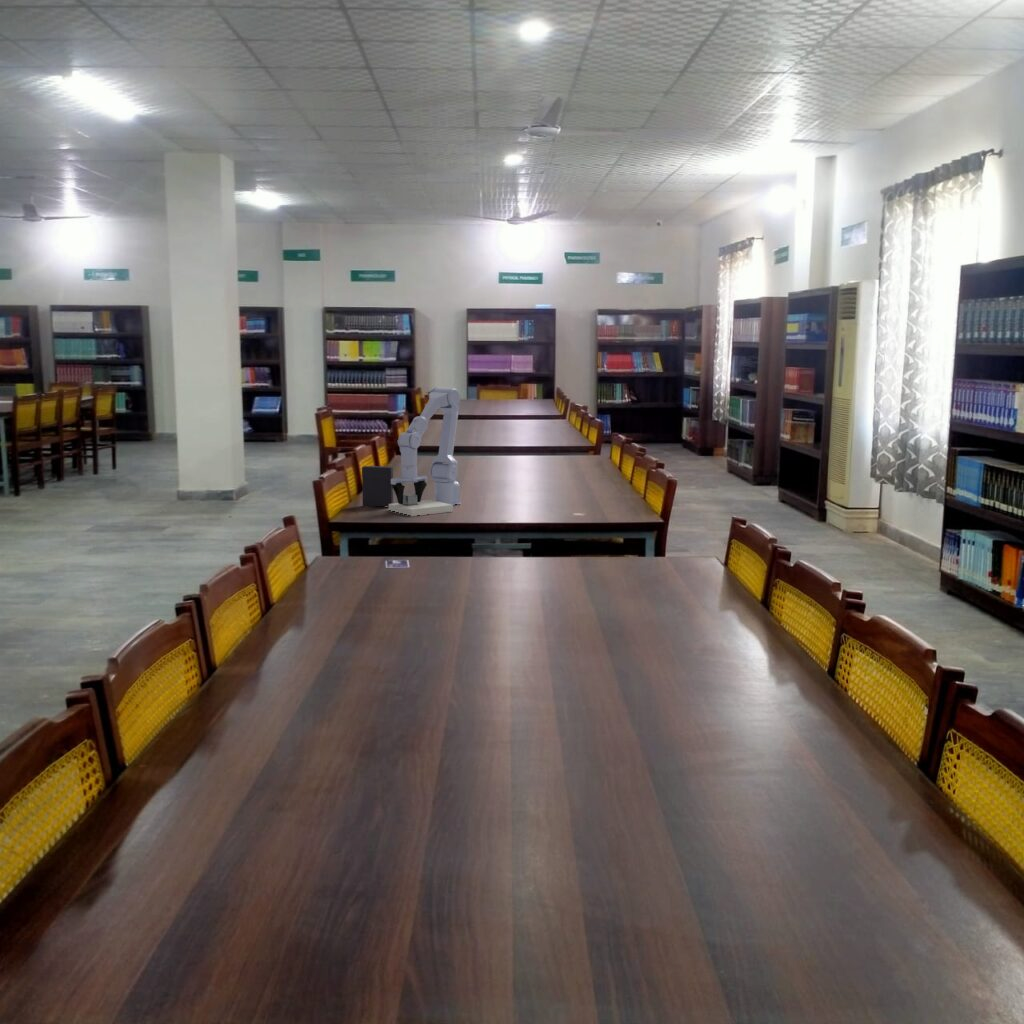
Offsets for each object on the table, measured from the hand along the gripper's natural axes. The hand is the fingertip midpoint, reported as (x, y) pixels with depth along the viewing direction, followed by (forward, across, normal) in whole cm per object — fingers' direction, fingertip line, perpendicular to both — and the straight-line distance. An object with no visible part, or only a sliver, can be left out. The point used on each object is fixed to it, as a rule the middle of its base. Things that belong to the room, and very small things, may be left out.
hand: (409, 502), depth 352 cm
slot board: (+3, +3, -3) cm, 5 cm away
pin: (+3, 0, 0) cm, 3 cm away
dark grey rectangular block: (+3, -4, +15) cm, 16 cm away
